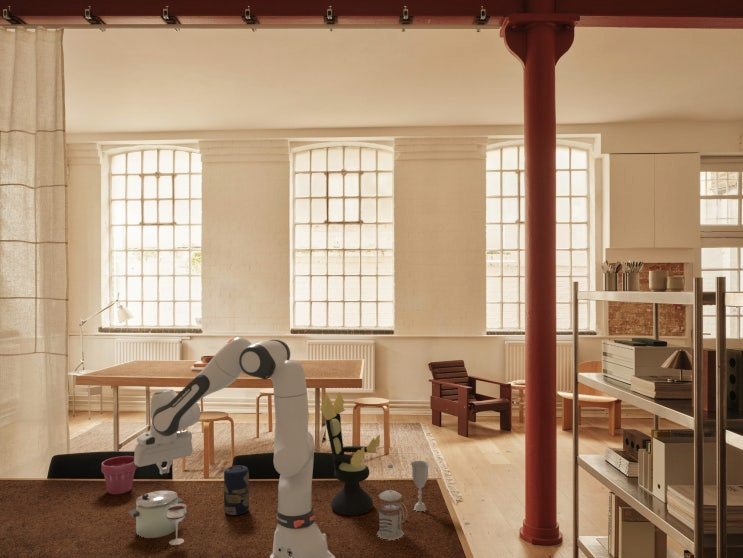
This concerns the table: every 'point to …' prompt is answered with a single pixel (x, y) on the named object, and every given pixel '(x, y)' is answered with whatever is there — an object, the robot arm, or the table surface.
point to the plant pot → (119, 474)
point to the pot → (153, 520)
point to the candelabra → (347, 463)
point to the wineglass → (176, 518)
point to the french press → (395, 529)
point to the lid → (156, 498)
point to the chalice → (420, 480)
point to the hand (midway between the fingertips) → (164, 473)
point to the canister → (236, 490)
